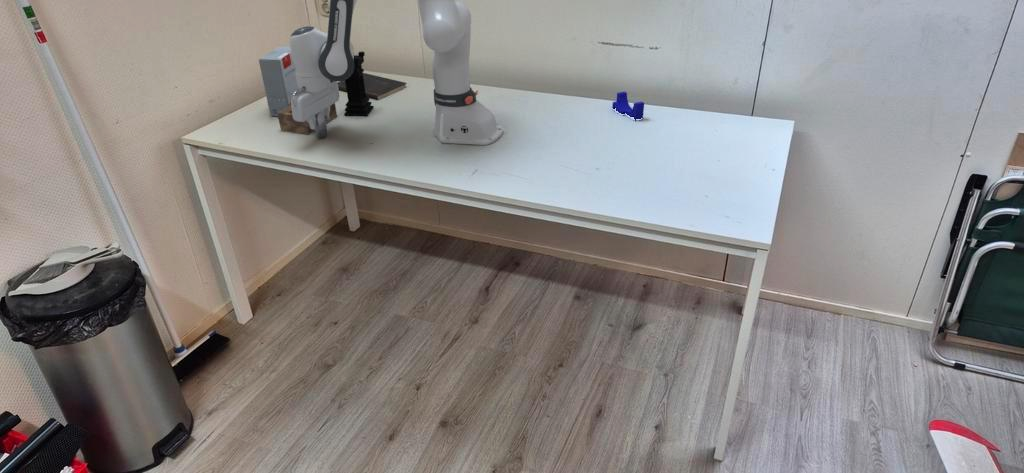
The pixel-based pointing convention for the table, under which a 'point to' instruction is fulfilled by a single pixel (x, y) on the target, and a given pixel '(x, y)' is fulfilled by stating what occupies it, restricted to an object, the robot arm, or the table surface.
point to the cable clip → (624, 107)
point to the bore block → (295, 126)
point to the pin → (320, 125)
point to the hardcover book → (376, 86)
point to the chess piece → (357, 91)
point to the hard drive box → (278, 78)
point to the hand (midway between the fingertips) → (320, 124)
